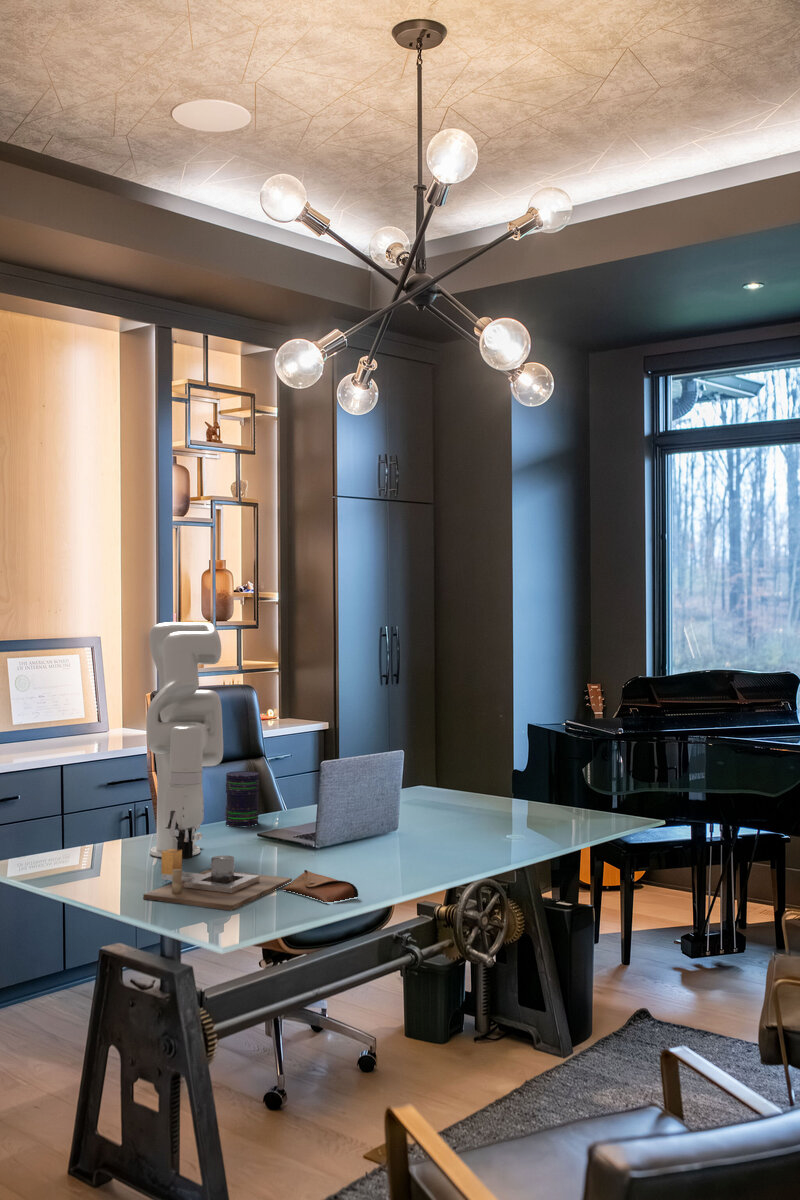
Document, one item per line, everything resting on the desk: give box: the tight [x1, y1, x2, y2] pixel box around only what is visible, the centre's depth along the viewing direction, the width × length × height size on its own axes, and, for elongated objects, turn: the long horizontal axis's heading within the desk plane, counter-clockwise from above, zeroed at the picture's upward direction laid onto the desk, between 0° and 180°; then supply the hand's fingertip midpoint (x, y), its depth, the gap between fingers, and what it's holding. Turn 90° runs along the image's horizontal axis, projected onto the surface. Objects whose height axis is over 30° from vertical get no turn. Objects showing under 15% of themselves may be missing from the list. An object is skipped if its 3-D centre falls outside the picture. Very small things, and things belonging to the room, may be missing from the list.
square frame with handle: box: [160, 849, 260, 893], centre depth 238 cm, size 21×12×6 cm, turn 68°
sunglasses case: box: [281, 869, 359, 902], centre depth 233 cm, size 18×7×7 cm
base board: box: [142, 868, 293, 911], centre depth 235 cm, size 26×22×1 cm
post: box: [210, 855, 235, 884], centre depth 236 cm, size 5×5×6 cm
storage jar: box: [224, 770, 260, 827], centre depth 314 cm, size 10×10×15 cm
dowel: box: [171, 868, 183, 894], centre depth 229 cm, size 2×2×5 cm
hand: (184, 858), depth 246 cm, fingers closed
